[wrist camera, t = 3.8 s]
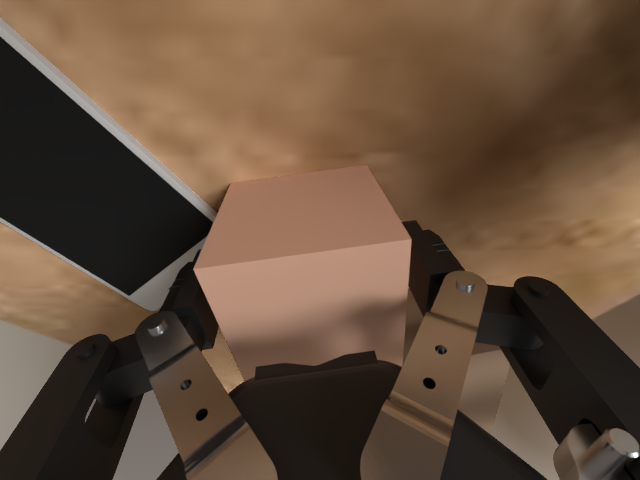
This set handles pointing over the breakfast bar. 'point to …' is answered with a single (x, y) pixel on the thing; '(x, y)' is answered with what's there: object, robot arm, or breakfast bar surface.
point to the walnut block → (470, 372)
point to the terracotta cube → (307, 269)
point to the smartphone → (89, 183)
